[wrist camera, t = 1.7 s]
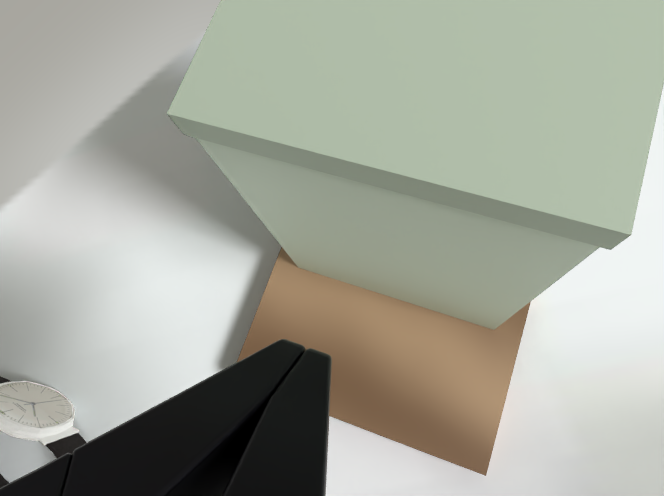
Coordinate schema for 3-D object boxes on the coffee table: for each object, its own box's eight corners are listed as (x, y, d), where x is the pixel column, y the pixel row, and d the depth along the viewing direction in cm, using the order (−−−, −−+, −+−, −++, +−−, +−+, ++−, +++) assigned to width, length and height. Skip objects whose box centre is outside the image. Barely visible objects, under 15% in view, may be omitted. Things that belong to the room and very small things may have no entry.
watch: (135, 444, 21) (82, 453, 17) (66, 553, 20) (-6, 586, 16) (7, 348, 23) (-63, 339, 19) (-60, 443, 22) (-148, 452, 18)
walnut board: (481, 472, 18) (485, 475, 18) (238, 379, 21) (230, 377, 20) (564, 151, 22) (572, 140, 21) (345, 100, 24) (343, 88, 23)
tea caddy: (496, 333, 19) (631, 234, 8) (295, 269, 21) (167, 113, 9) (547, 143, 21) (715, -158, 10) (359, 100, 23) (315, -197, 11)
